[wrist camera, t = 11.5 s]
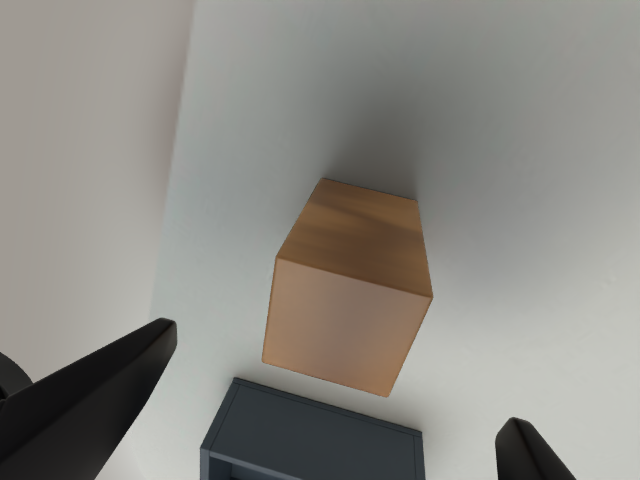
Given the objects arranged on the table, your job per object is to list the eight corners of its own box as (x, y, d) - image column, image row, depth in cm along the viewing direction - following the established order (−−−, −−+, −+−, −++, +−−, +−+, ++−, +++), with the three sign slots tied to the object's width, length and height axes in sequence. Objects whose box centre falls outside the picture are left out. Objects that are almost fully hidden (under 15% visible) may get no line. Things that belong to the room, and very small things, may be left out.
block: (305, 257, 18) (260, 362, 12) (320, 177, 16) (275, 255, 9) (389, 279, 17) (388, 399, 11) (418, 200, 15) (434, 297, 9)
